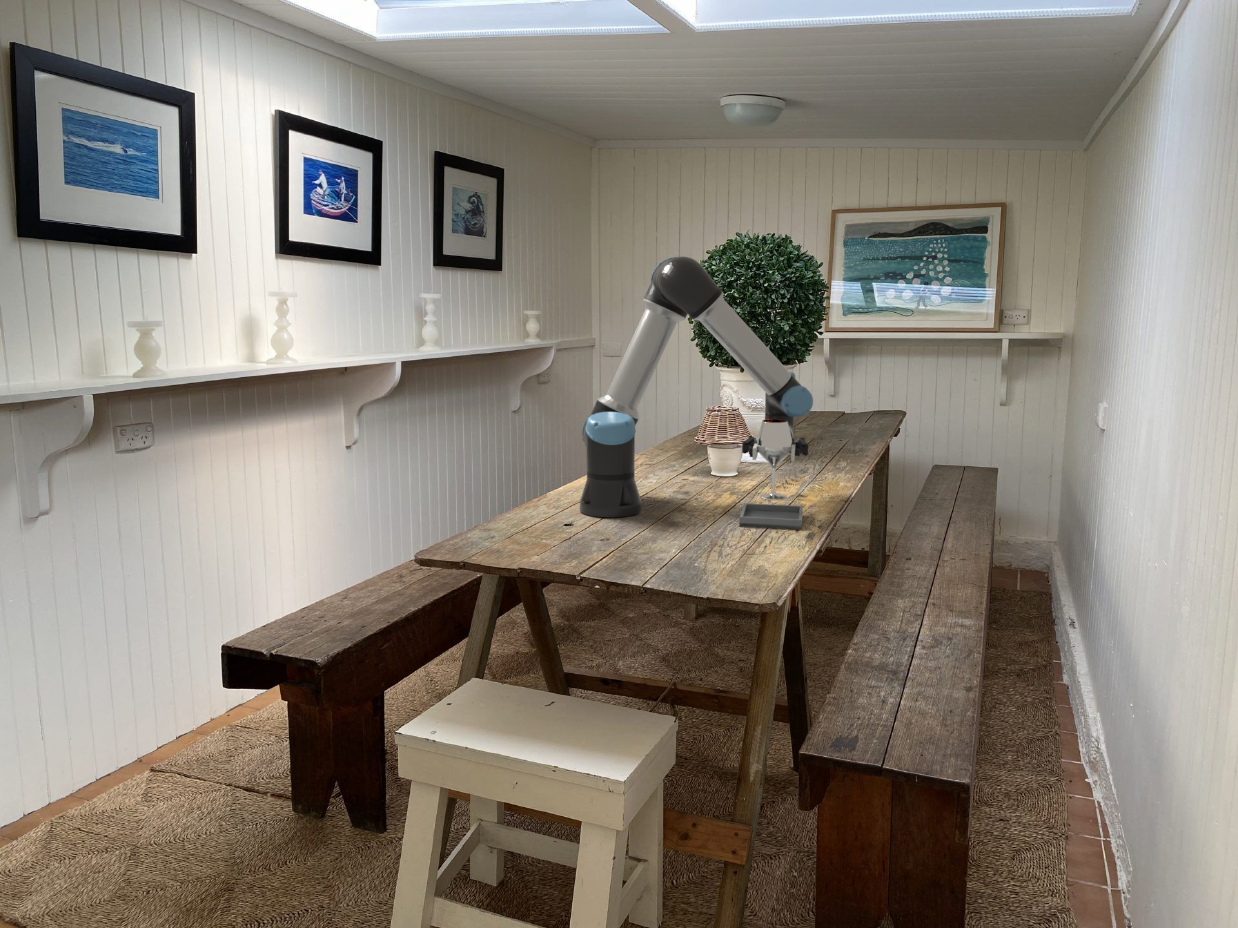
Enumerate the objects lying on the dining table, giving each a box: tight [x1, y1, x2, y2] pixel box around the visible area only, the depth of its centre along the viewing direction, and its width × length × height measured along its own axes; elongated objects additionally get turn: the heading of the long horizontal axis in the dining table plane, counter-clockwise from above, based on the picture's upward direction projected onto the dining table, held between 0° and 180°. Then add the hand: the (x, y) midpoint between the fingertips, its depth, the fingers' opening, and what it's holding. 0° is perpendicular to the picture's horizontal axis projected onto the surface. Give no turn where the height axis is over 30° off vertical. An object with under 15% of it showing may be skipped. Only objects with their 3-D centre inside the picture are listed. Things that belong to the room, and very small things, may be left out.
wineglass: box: [756, 419, 792, 501], centre depth 220 cm, size 8×8×18 cm
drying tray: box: [738, 502, 804, 530], centre depth 223 cm, size 14×14×2 cm
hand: (773, 454), depth 215 cm, fingers closed on wineglass, 8 cm apart
